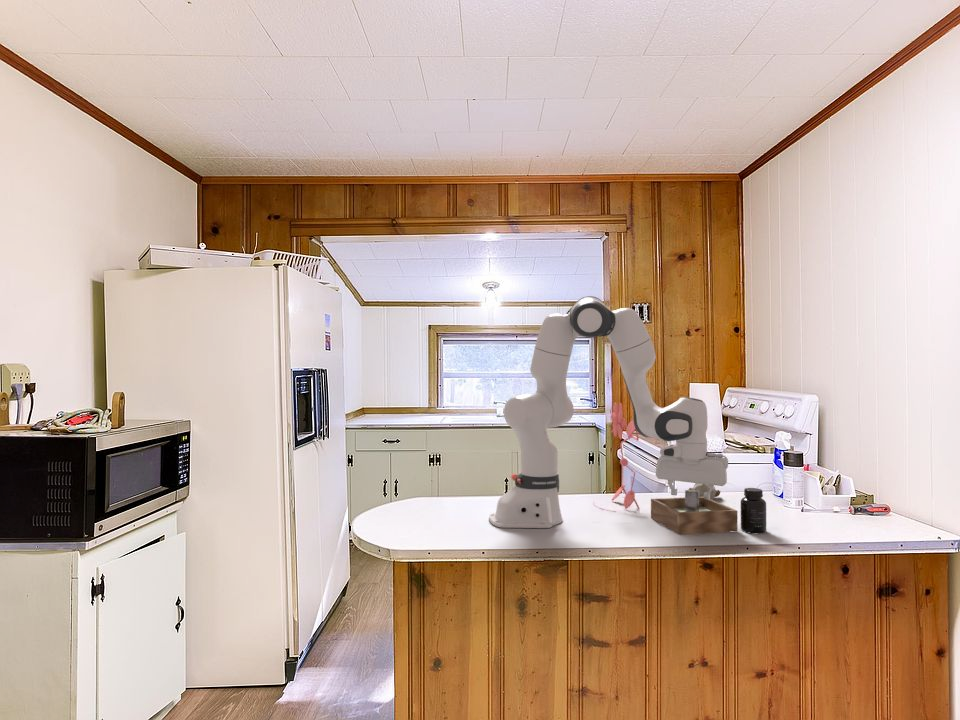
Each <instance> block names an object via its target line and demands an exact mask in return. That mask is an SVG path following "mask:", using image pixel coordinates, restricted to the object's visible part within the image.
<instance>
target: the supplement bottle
mask: <svg viewBox="0 0 960 720" xmlns="http://www.w3.org/2000/svg"><path fill="white" fill-rule="evenodd" d="M763 492H764V491H763V489H761V488H757V487H746V488H745V487H744V491H743V495H744V497H742V498H741V499H740V530H741V531H742V530H743V531H742V532H744V531H745V532H744V533H747V532H750V533H749V534H752V533H762V534H765V533H766V532H767V501H766V500H765V499H763V497H764V494H763Z"/></svg>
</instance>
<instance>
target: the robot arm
mask: <svg viewBox="0 0 960 720" xmlns="http://www.w3.org/2000/svg"><path fill="white" fill-rule="evenodd" d="M579 336H581V337H584V338H599V337H607V338H608V340H609V343H610V344H611V346H612V348H613V351H614V354H615V356H616V359H617V361H618V364H619V366H620V369H621V373H622V378H623V380H624V384H625V386H626V390H627V393H628V396H629V399H630V402H631V406H632V410H633V411H632V412H633V419H634V426H635V428H636V430H637V432H638V435H641V436H643V437H645V438H649V439H656V440H658V441H663V442H674V441H675V444H670V445H666V446H663V447H662V448H660V451H659V454H660V456H659V457H658V458H657V460H656V466H655V477H656V478H657V479H658V480H664V481H665V480H666V481H667V485H668V487H669V489H670V491H671V492H670V495H671V496H677V495H678V489H677V488H675V487H674V485H673V483H674V482H683V483H693V484H695V483H699V484H708V488H710V490H709V491H708V493H707V492H705V493H704V499H707V500H709V499H710V493H711V491H712V490H713V488H714V487H715V486H718V487H724V486H725V485H727V483H728V476H727V469H728V467H729V459H728V458H727V456H726V455H724V454H722V453H713V452H708V440H707V430H708V410H707V409H708V408H707V405H706V402H705V401H703V400H701V399H699V398H696V397H695V398H693V397H689V396H680V397H679V399H677V400H676V401H675V402H673V403H671V404H670V405H668V406H664V407H660V406H658V405H657V404H656V402H655V401H654V400H653V398H652V395H651V390H650V388H649V385H648V382H647V374H648V371H650V369H652V368H653V365H654V364H655V362H656V359H657V355H656V350H655V346H654V343H653V340H652V339H651V336H650V334H649V332H648V329H647V327H646V325H645V324H644V322H643V320H642V318H641V317H640V315H639V314H638V313H637V311H636V310H635V309H633V308H630V307H622V308H619V309H616V310H612V309H609V308H608V307H607V305H606V303H604V301H603V300H601V299H600V298H599V297H596V296H593V295H592V296H591V295H589V296H583V297H581V298H579V299H578V300H577V301H576V302H575V303H574V304H573V305H572V306H571V307H570V309H568V311H567V312H566V313H565V314H564V313H552V314H549V315H547V316H546V317H545V318H544V319H543V322H542V324H541V326H540V329H539V332H538V335H537V338H536V342H535V346H534V350H533V355H532V359H531V364H530V367H529V368H530V369H529V370H530V374H531V376H532V377H533V378H534V379H535V380H536V390H535V391H536V392H535V393H521V394H519V395H516V396H513V397H511V398H509V399H508V400H507V401H506V402H505V405H504V409H503V416H504V419H505V422H506V424H507V425H508V426H509V427H510V428H511V429H512V430H513V431H514V434H515V435H516V437H517V441H518V442H519V446H520V448H519V449H520V459H521V460H520V461H521V462H520V464H521V465H520V466H521V467H520V468H521V473H519V474H516V473H512V474H511V476H510V478H511V480H513V481H514V486H513V487H512V488H511V489H509V490H508V491H507V492H505V493H504V494H503V495H501V496H500V497H499V499H498V500H497V504H496V509H495V512H492V513H490V514H489V516H488V517H489V518H488V521H489V522H490V524H492V525H493V526H495V527H497V528H504V529H505V528H509V529H511V528H512V529H513V528H516V529H518V528H522V529H523V528H525V529H526V528H527V529H529V528H530V529H532V528H533V529H549V528H552V527H554V526H556V525H558V524H560V523H562V522H563V521H564V520H563V517H562V513H561V512H562V511H561V508H560V507H561V506H560V500H559V491H560V477H559V476H560V474H559V473H558V448H557V446H555V444H554V443H552V442H551V441H550V438H549V436H548V432H547V429H550V428H558V427H560V426H562V425H565V424H566V423H569V421H570V420H572V419H573V416H574V410H575V409H574V404H573V402H572V400H571V398H570V397H569V396H568V392H567V376H568V370H569V367H570V366H569V365H570V361H571V357H572V352H573V347H574V343H575V342H576V340H577V338H578V337H579ZM636 430H635V431H636Z"/></svg>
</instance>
